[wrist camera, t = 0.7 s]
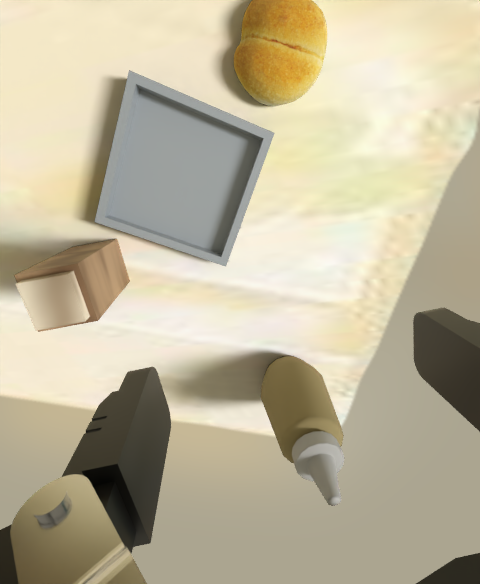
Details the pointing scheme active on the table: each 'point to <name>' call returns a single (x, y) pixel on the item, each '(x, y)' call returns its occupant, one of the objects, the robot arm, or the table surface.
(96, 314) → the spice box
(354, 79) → the table surface
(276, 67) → the bread roll
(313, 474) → the squeeze bottle
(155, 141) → the tray
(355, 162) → the table surface
